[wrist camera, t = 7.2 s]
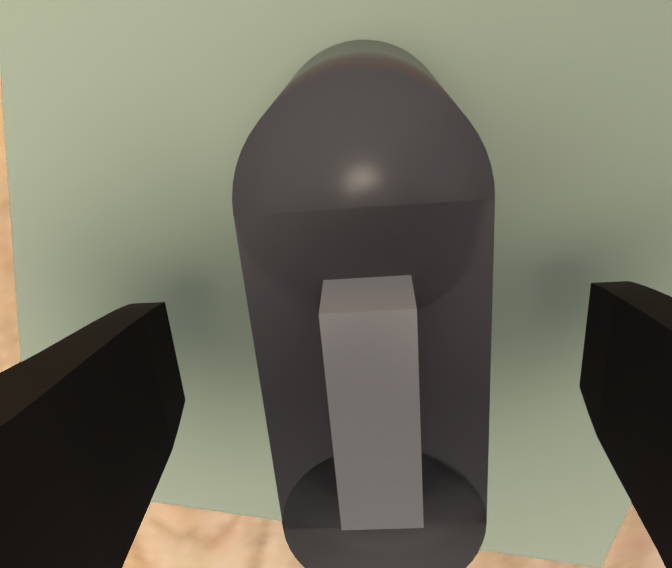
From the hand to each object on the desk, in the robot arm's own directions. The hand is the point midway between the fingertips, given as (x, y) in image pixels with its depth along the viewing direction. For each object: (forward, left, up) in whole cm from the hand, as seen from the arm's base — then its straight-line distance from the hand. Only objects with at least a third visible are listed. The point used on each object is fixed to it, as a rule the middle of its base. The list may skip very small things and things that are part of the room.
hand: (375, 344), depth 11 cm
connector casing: (0, 0, -4) cm, 4 cm away
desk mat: (0, 0, -4) cm, 4 cm away
